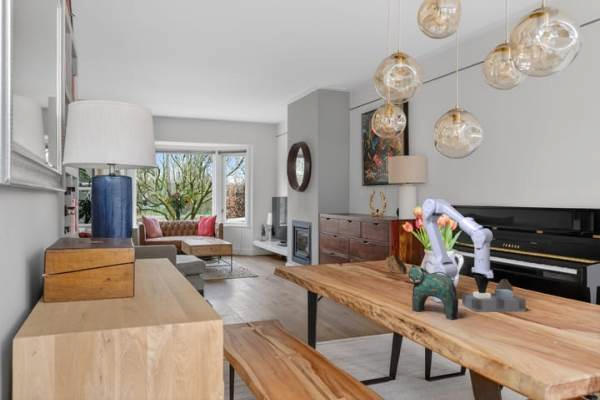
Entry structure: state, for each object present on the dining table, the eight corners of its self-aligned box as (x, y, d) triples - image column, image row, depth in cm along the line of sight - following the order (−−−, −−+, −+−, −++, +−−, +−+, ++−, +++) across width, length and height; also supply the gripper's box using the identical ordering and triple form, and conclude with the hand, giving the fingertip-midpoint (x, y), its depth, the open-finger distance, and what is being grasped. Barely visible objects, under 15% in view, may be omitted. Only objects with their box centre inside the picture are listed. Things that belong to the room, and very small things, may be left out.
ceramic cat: (406, 310, 172) (407, 259, 172) (417, 307, 176) (417, 257, 176) (451, 321, 157) (451, 265, 157) (461, 318, 160) (462, 263, 160)
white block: (478, 304, 173) (478, 294, 173) (473, 301, 178) (473, 291, 178) (491, 304, 174) (491, 294, 174) (485, 301, 179) (485, 291, 179)
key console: (475, 311, 170) (475, 300, 170) (462, 304, 182) (462, 293, 182) (525, 311, 171) (525, 299, 171) (509, 304, 183) (509, 293, 183)
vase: (515, 301, 187) (515, 281, 187) (497, 301, 188) (497, 280, 188) (510, 298, 193) (510, 278, 193) (494, 297, 195) (494, 277, 195)
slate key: (500, 301, 174) (500, 291, 174) (494, 298, 179) (494, 289, 179) (513, 301, 174) (513, 291, 174) (506, 298, 179) (506, 289, 179)
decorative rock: (385, 272, 261) (385, 254, 261) (390, 271, 265) (390, 253, 265) (403, 274, 253) (403, 256, 253) (408, 273, 258) (408, 255, 258)
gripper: (500, 261, 169) (500, 296, 169) (483, 256, 183) (483, 289, 183) (482, 261, 168) (482, 297, 169) (466, 256, 183) (466, 289, 183)
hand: (482, 292), depth 176 cm, fingers closed, pressing on white block
